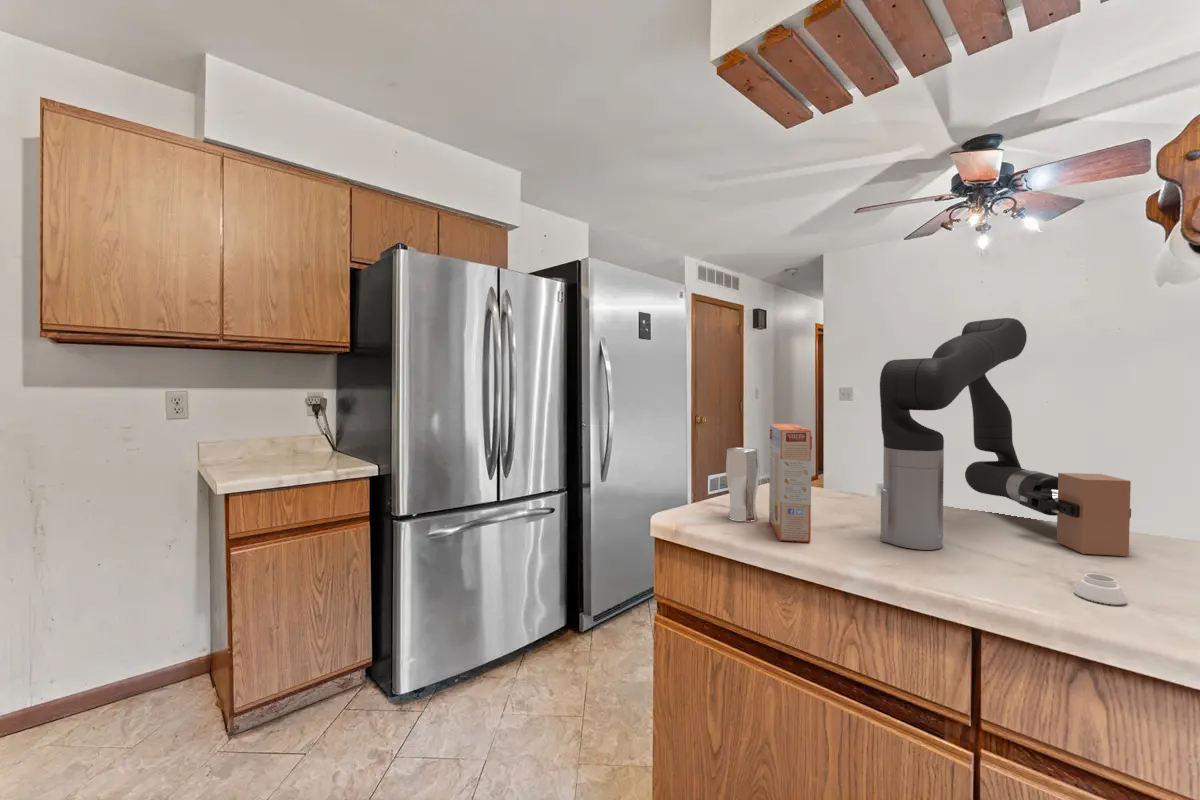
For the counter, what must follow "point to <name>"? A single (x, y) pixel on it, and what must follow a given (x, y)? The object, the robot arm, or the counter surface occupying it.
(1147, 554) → the counter surface
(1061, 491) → the brown rectangular block
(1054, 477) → the robot arm
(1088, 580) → the lidless jar
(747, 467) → the beer glass
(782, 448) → the cracker box
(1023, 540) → the counter surface
